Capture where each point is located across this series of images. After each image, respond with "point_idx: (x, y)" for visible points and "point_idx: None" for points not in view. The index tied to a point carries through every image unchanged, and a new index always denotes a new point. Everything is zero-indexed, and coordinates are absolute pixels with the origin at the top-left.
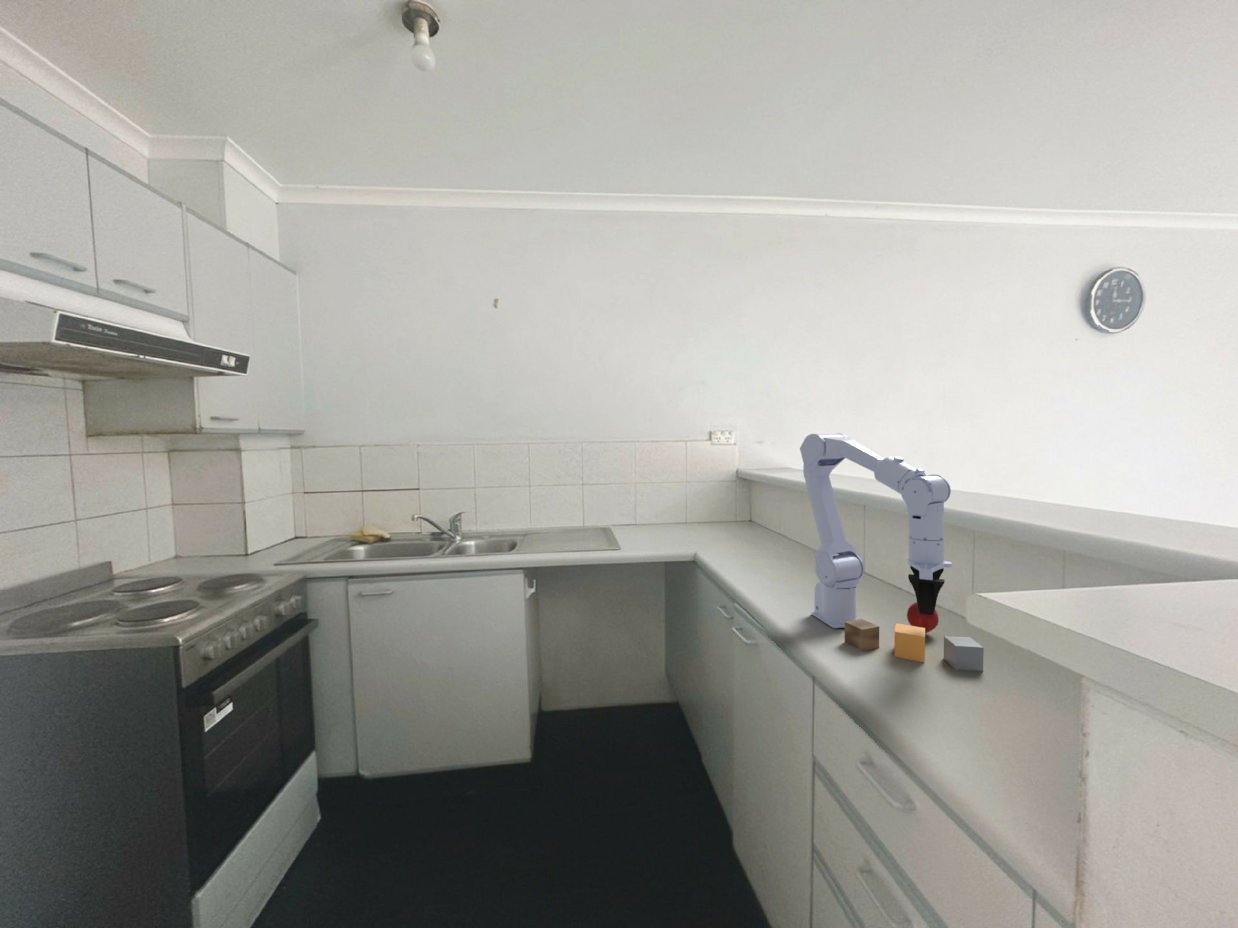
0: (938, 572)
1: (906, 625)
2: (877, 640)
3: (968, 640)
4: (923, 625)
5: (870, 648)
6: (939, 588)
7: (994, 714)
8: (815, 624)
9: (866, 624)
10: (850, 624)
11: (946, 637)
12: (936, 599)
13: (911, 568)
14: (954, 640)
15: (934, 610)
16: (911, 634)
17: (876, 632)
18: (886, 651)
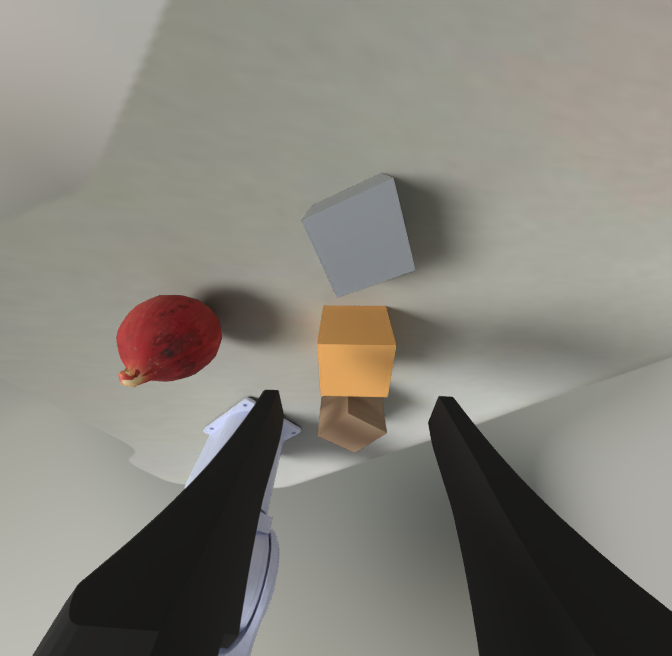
0: (190, 600)
1: (323, 378)
2: None
3: (341, 228)
4: (219, 327)
5: None
6: (625, 577)
7: (668, 168)
8: (297, 444)
9: (350, 429)
10: (365, 445)
11: (348, 292)
12: (512, 470)
13: (237, 632)
14: (365, 271)
15: (463, 411)
16: (391, 370)
17: (353, 404)
18: None
